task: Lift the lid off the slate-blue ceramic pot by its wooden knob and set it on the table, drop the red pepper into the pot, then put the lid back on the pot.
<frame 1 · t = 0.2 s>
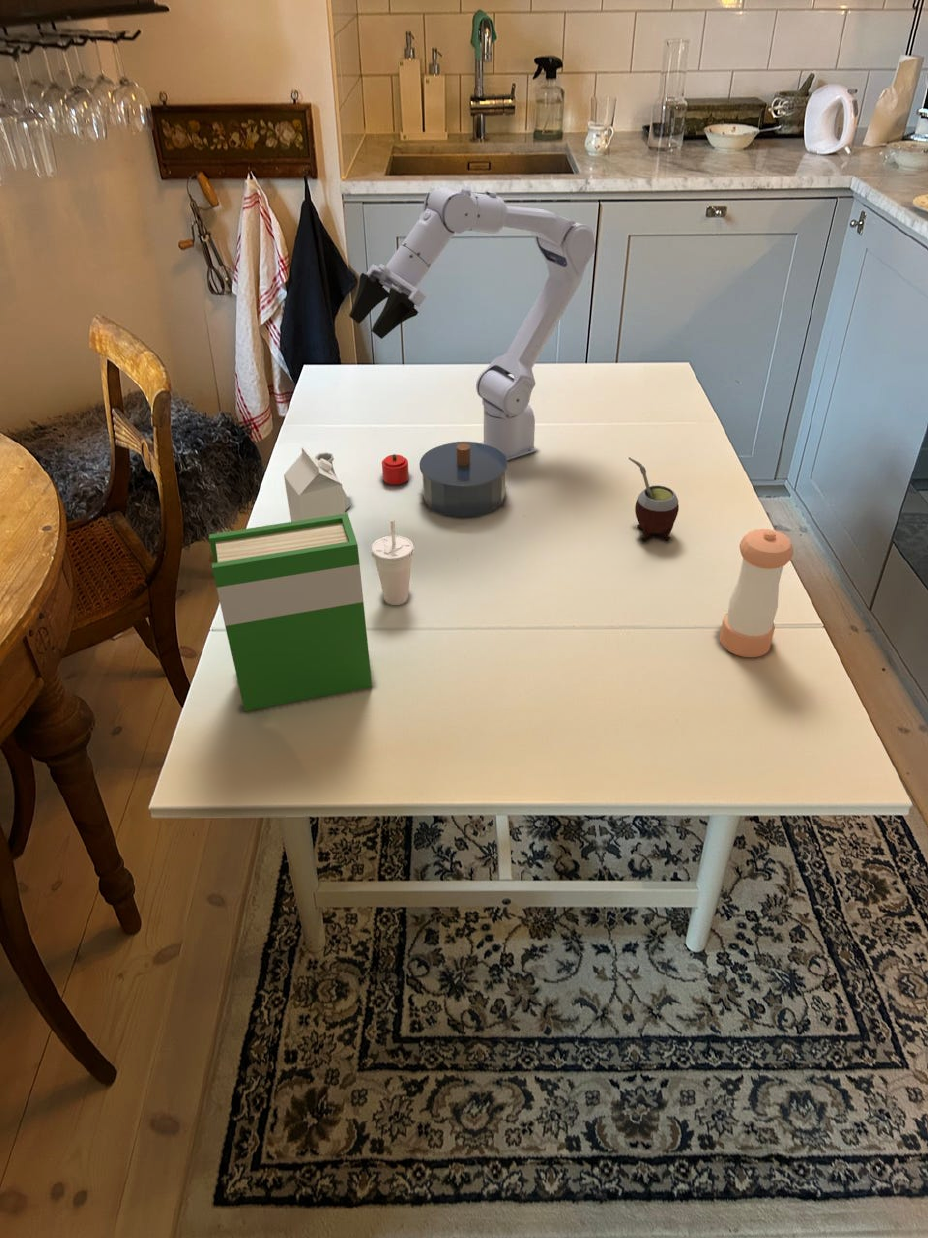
hand: (364, 327, 152), 31 cm above the table, tool tilted 45°, fingers open, 7 cm apart
mate gourd: (650, 535, 160), on the table
hardback book: (305, 682, 132), on the table
smoothie: (396, 598, 147), on the table
red pepper: (395, 478, 175), on the table
flask: (330, 507, 168), on the table
lid: (463, 464, 166), point 6 cm above the table, touching pot
pot: (464, 495, 170), on the table
milk carton: (323, 559, 155), on the table
pepper shaker: (744, 642, 138), on the table
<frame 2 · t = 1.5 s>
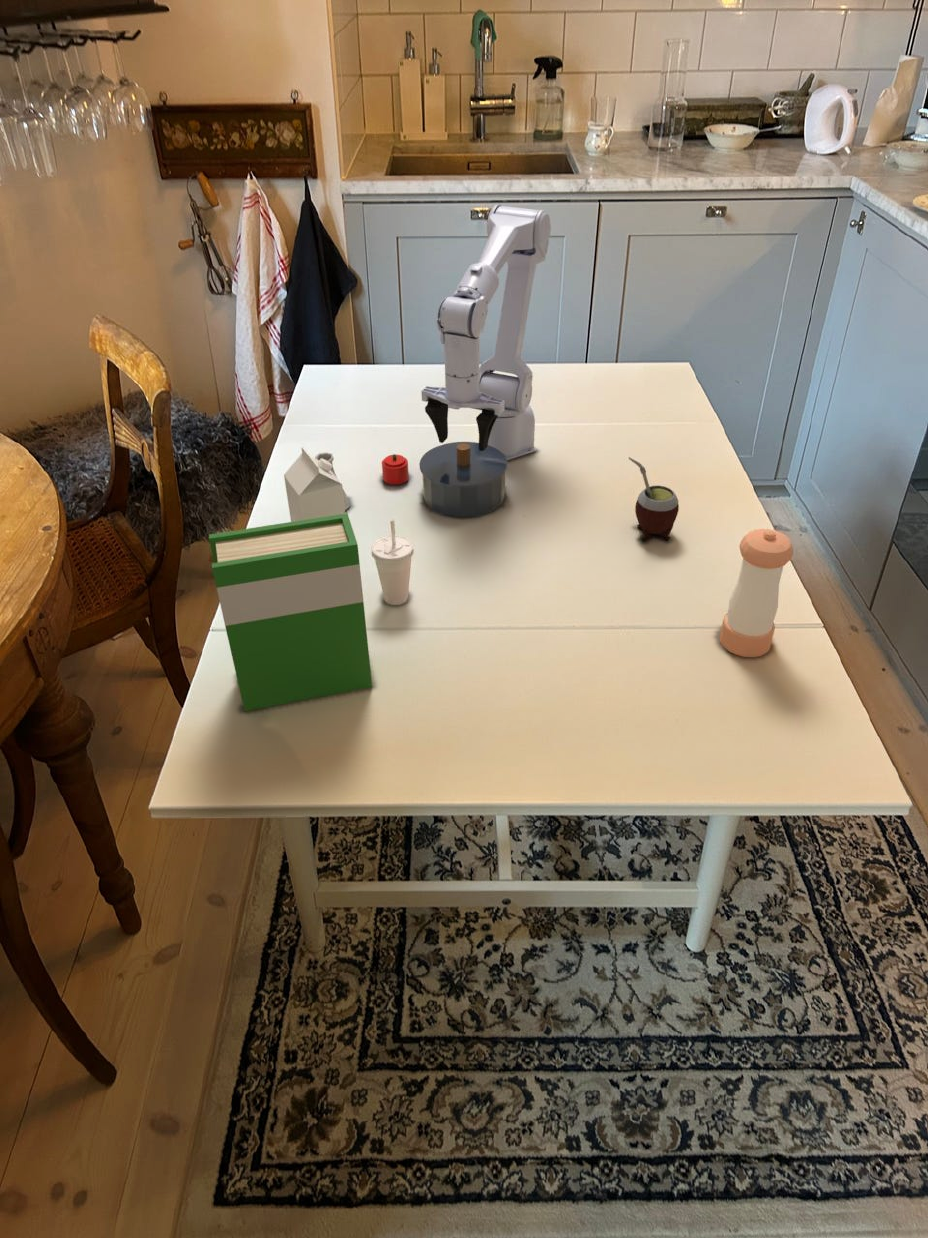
hand: (463, 444, 164), 10 cm above the table, tool pointing down, fingers open, 7 cm apart
nothing on the table moved.
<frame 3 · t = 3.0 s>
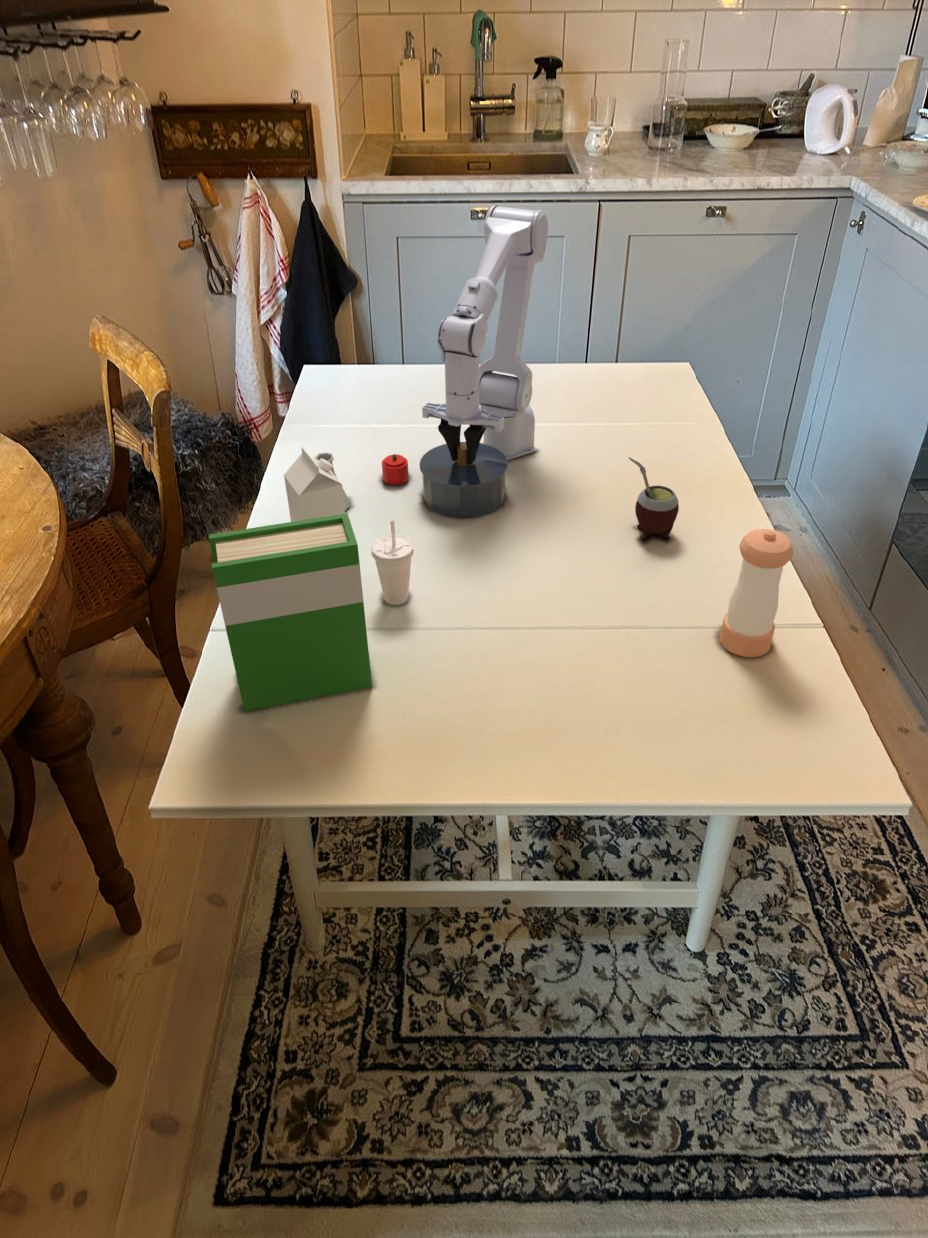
hand: (463, 459, 165), 7 cm above the table, tool pointing down, fingers closed on lid, 2 cm apart
lid: (463, 464, 166), point 6 cm above the table, touching gripper, pot
everything else where it was.
when the fingers open (2 cm above the table, at t = 7.6 s): lid stays where it is, point 1 cm above the table.
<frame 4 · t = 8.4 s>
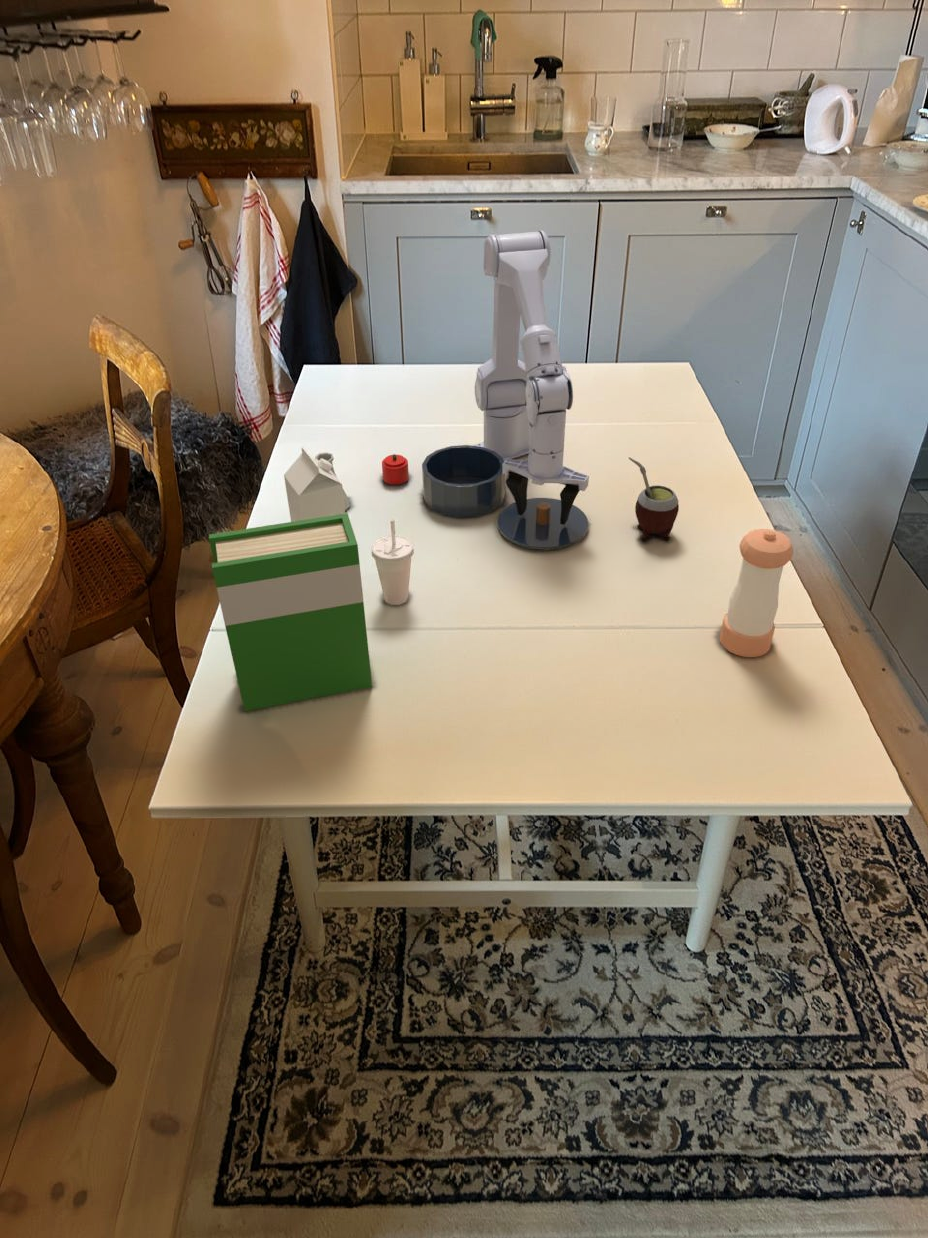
hand: (543, 516, 161), 2 cm above the table, tool pointing down, fingers open, 7 cm apart
lid: (542, 523, 161), point 1 cm above the table
everything else where it was.
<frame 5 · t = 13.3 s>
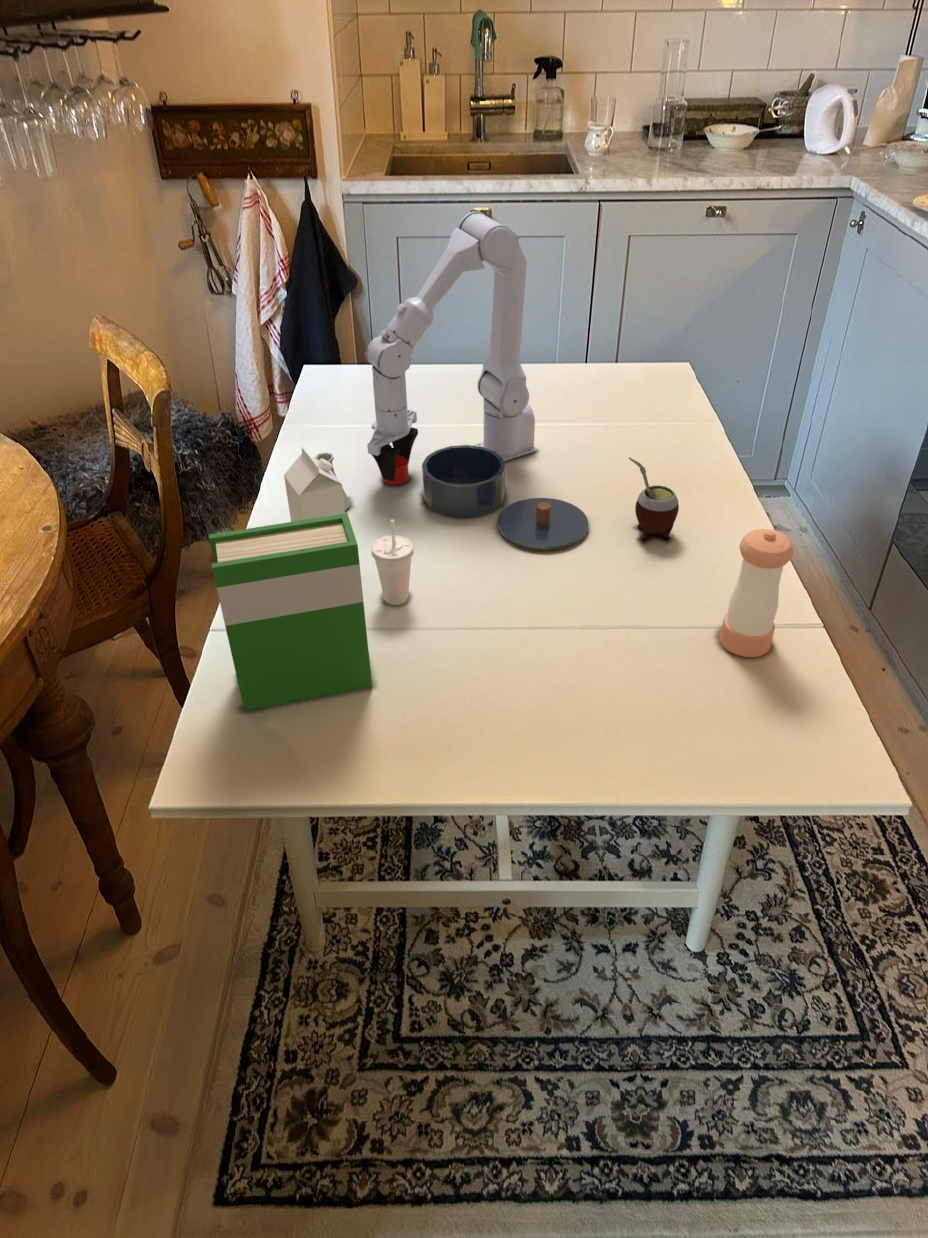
hand: (395, 472, 174), 1 cm above the table, tool pointing down, fingers closed on red pepper, 5 cm apart
red pepper: (395, 478, 175), on the table, touching gripper
everything else where it was.
when the fingers open (2 cm above the table, at t = 18.9 s): red pepper stays where it is, resting on pot.
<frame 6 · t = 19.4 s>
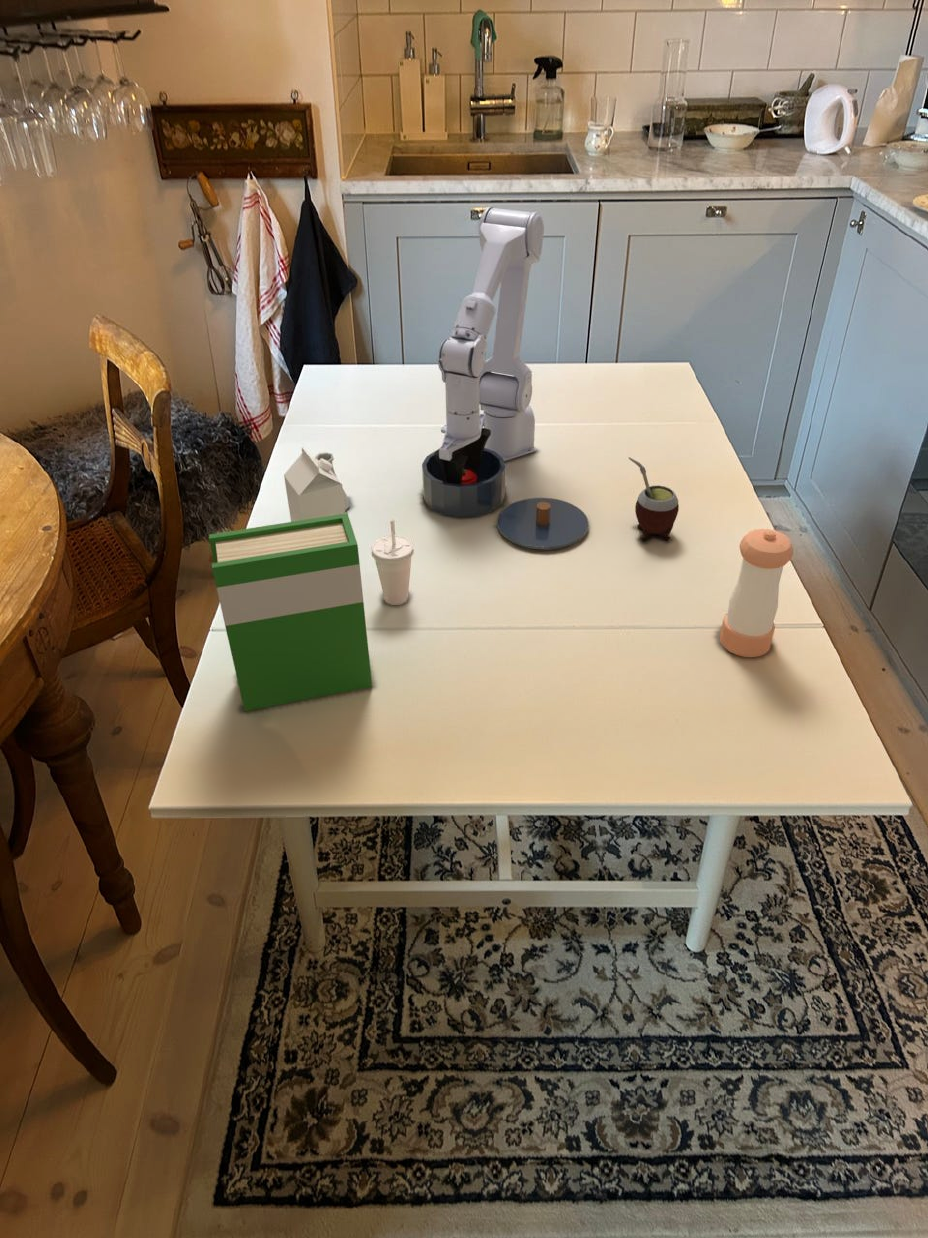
hand: (463, 477, 168), 4 cm above the table, tool pointing down, fingers open, 7 cm apart
red pepper: (463, 494, 170), resting on pot
everything else where it was.
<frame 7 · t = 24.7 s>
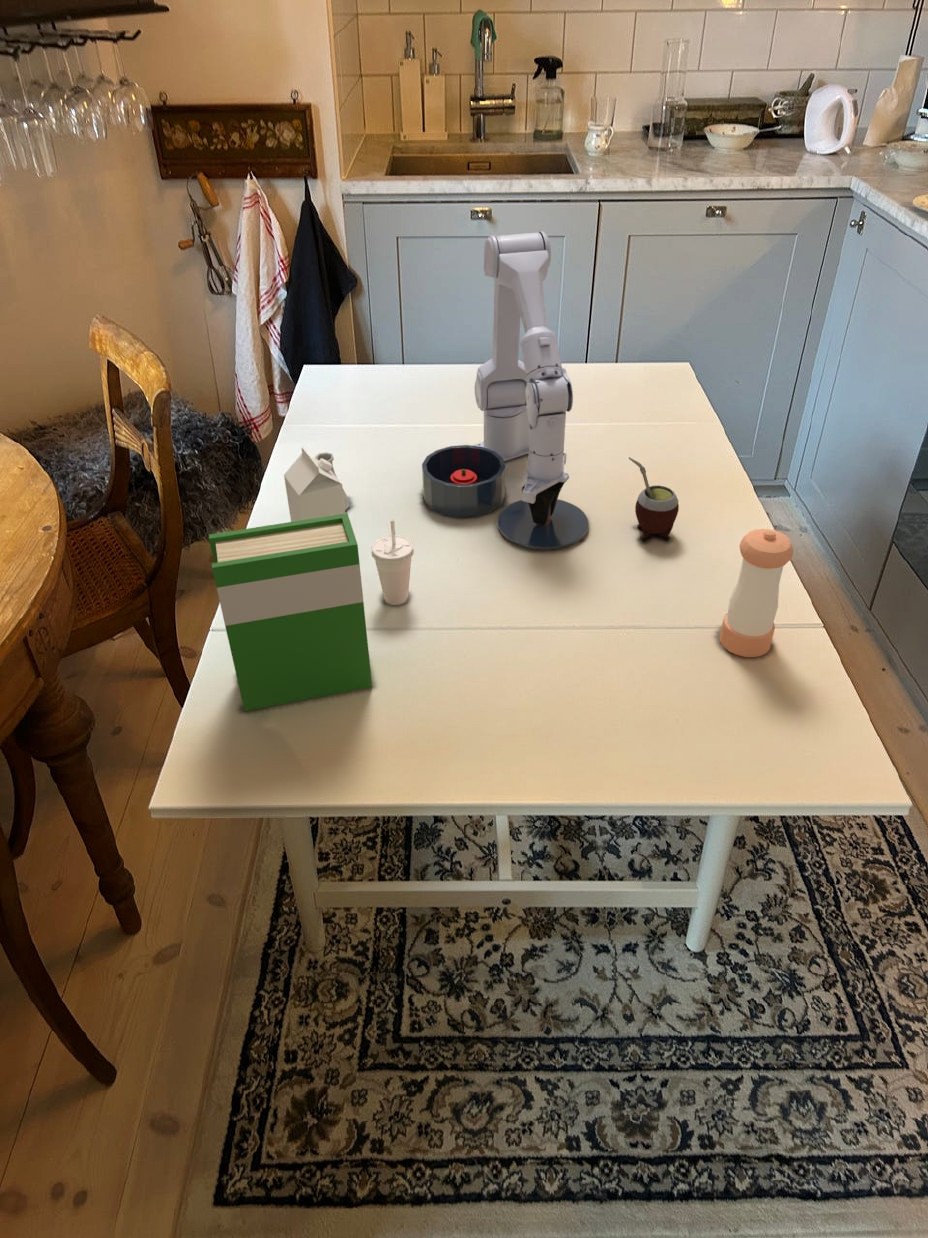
hand: (542, 518, 161), 2 cm above the table, tool pointing down, fingers closed on lid, 2 cm apart
lid: (542, 523, 161), point 1 cm above the table, touching gripper
everything else where it was.
when the fingers open (7 cm above the table, at t = 29.7 s): lid stays where it is, resting on pot.
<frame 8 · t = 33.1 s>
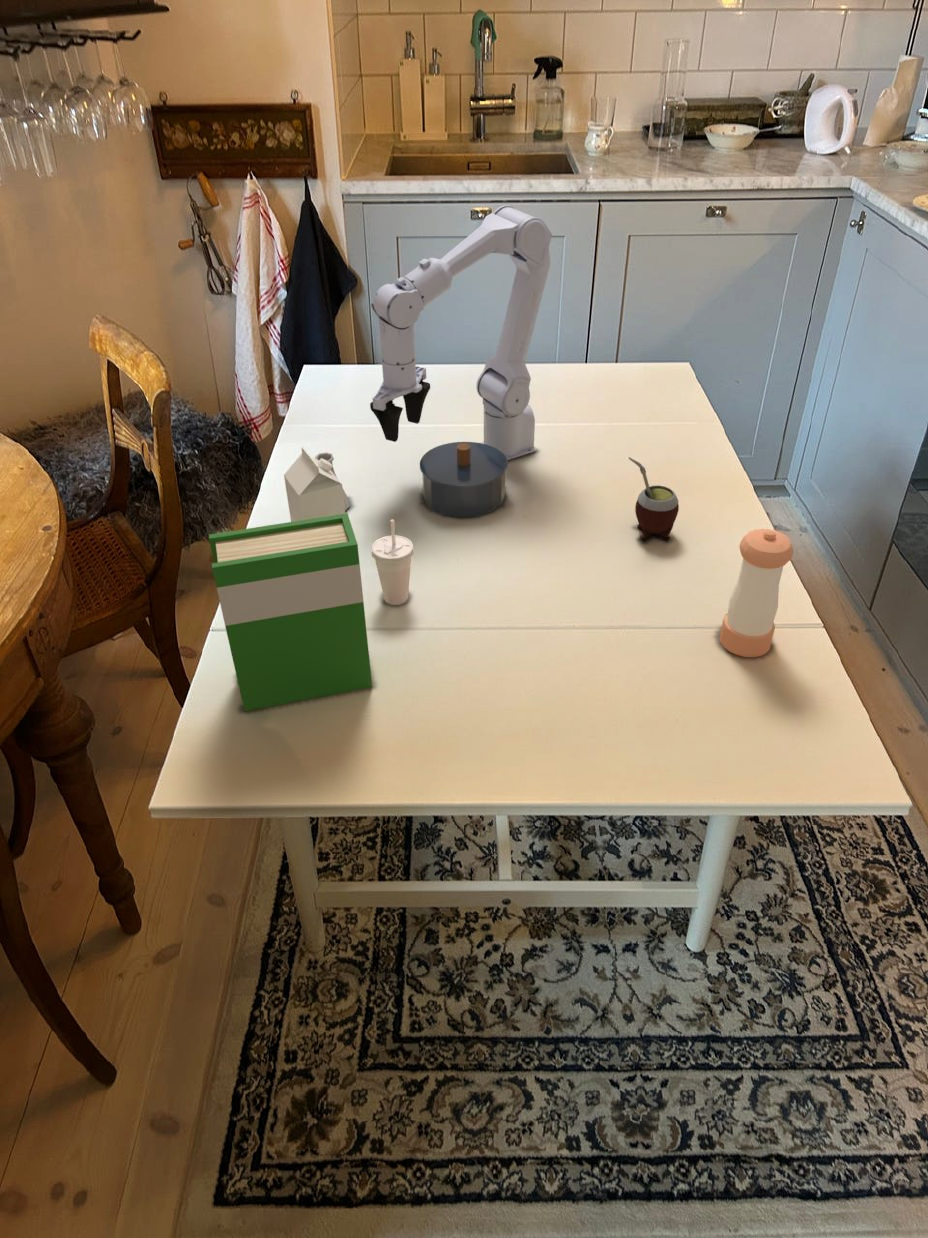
hand: (402, 430, 168), 10 cm above the table, tool pointing down, fingers open, 7 cm apart
lid: (463, 464, 166), point 6 cm above the table, touching pot
everything else where it was.
at the end: red pepper inside the target area in the pot (0.0 cm from its centre), point 0.3 cm above the pot's base; lid 0.0 cm off-centre on the pot, point 6.3 cm above the pot's base; lid tilted 0° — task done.
